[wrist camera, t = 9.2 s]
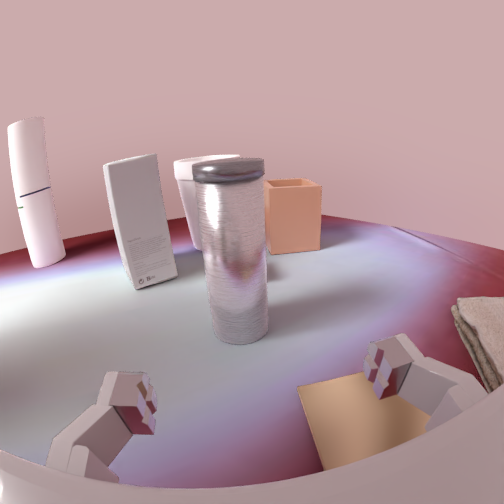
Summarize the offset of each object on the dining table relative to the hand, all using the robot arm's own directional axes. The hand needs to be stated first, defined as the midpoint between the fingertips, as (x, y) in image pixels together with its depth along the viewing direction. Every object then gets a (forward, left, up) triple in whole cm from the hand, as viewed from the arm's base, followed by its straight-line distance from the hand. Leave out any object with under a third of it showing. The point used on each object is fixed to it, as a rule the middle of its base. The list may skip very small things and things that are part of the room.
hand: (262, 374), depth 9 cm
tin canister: (0, +13, -8) cm, 15 cm away
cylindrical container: (-33, +35, -8) cm, 49 cm away
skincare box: (-11, +26, -8) cm, 30 cm away
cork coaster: (+8, 0, -8) cm, 11 cm away
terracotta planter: (+9, +31, -8) cm, 33 cm away
